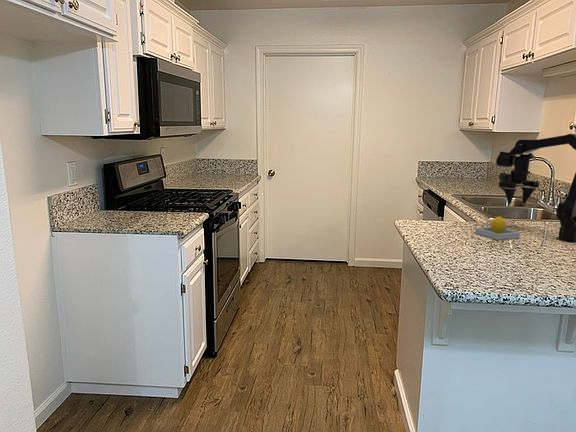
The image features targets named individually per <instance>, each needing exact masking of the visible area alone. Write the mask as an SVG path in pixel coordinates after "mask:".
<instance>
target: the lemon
mask: <svg viewBox="0 0 576 432" xmlns="http://www.w3.org/2000/svg"><path fill="white" fill-rule="evenodd" d="M490 227H491V229H492V231H493V232H494V233H497V234H500V233H502V232H504V230H505V229H506V227H507V222H506V220H505V219H504V218H503V217H501V216H499V215H498V216H497V217H495V218H493V219H492V221H491V224H490Z"/></svg>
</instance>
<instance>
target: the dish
mask: <svg viewBox="0 0 576 432" xmlns="http://www.w3.org/2000/svg"><path fill="white" fill-rule="evenodd" d="M474 234H475V235H477V236H481V237H485V238H488V239H491V240H494V241H508V240H509V241H510V240H519V239H520V236H521V235H520V234H521V232H518V231H516V230H515V231H514V230H511V229H508V228H507V229H506V228H505V230H504V232H502V233H500V234H497V233H494V232H493V231H492V229H491V226H486V227H475V230H474Z"/></svg>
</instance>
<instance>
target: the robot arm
mask: <svg viewBox="0 0 576 432" xmlns="http://www.w3.org/2000/svg"><path fill="white" fill-rule="evenodd" d="M564 145H565V146H566V145H569V146H570V147H571V148H573V150H575V151H576V133H568V134H566V135H565V134H563V135H557V136H553V137H546V138H540V139H519V140H516V142H515V144H514V147H513V148H512V149H511V150H509V152H507V151H499V154H498V155H497V158H496V161H495V164H496V166H497V167H501V168H502V167H503V168H512V167H513V169H511V170H510V173H506V172H501V173H499V175H498V177H499V178H498V180H499V182H498V187H499V188H500V189H502V190H503V192H504V194H505V198H506V201H507V204H508V205H509V204H510V205H511V203H512V201H513V198H514V196H515V194H516V190H517V189H516V187H520V188H521V190H522V197H521V198H522V199H521V200H522V203H523V204H526V203H527V201H528V199H530V197H531V195H532V194H533V193H534V192H535V191H536V190H537V188H540V182H539V181H538V180H530V179H528V175H529V174H531V171H530V170H529V169H530V162H531V159H532V160H534V159H536V156H535V155H534V154H533V153H532V152H534V151H535V152H536V151H538V150H541V149H546V148H550V147H558V146H564ZM517 155H518V156H517ZM567 193H568V194H567V195H566V198H565V200H564V201H559V202H558V205H557V208H556V210H555V213H556V217H557V219H558V220H559V223H560V227H559V231H558V237H556V239H557V240H561V241H564V242H568V243H576V172H575V173H574V176H573V179H572V182H571V184H570V187H569V190H568V192H567Z"/></svg>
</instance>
